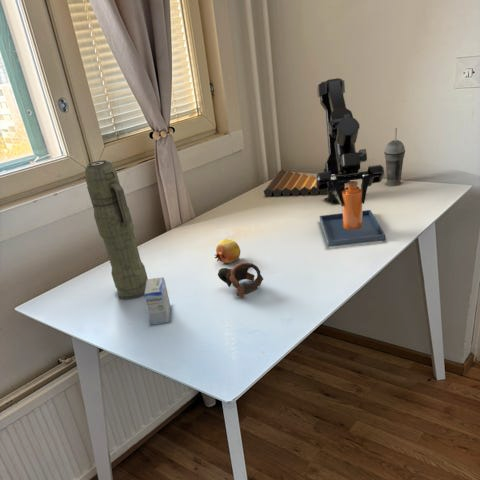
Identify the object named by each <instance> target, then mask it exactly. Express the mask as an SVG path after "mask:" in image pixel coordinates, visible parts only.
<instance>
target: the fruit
mask: <svg viewBox="0 0 480 480" xmlns="http://www.w3.org/2000/svg"><path fill="white" fill-rule="evenodd" d="M215 253H216V254H214V259H216V262H222V263H223V264H231V263H233V262H235V261H236V260H238V259H239V258H240V256H241V248H240V246H239V244H238V243H237V242H236V241H234V240H232V239H228V238H224V239H222V240H220V242H218V244H217V246H216V248H215Z"/></svg>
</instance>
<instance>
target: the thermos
mask: <svg viewBox="0 0 480 480" xmlns="http://www.w3.org/2000/svg"><path fill="white" fill-rule="evenodd" d="M84 169H85V172H84V173H85V174H84V177H85V178H84V179H85V183H86V188H87V191H88V195H89V199H90V201H91V205H92V208H93V217H94V220H95V221H94V222H95V224H96V227H97V230H98V234H99V236H100V237H101V239H102V241H103V244H104V247H105V250H106V253H107V257H108V259H109V264H110V266H111V277H112V281H113V283H114V287H115V288H116V290H117V294H118V296H119V297H120V298H121V299H124V300H126V299H128V300H130V299H131V300H132V299H134V298H135V299H136V298H139V297H141V296H144V292H145V287H146V281H147V280H148V279H149V278H148V274H147V270H146V267H145V265H144V263H143V262H142V259H141V256H140V252H139V248H138V245H137V240H136V237H135V233H134V228H135V227H134V222H133V218H132V215H131V211H130V208H129V207H128V203H127V198H126V195H125V191H124V188H123V187H122V185H121V183H120V180H119V176H118V173H117V170H116V169H115V167H114V166H113V164H112V162H111V161H108V160H106V159H105V160H103V159H102V160H96V161H92V162H90V163H87V165H86V166H85V168H84Z"/></svg>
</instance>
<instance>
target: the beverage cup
mask: <svg viewBox="0 0 480 480" xmlns="http://www.w3.org/2000/svg"><path fill="white" fill-rule="evenodd" d="M394 132H395V133H394V139H393V140H391V141H389V142H388V143H386V146H385V148H384V159H385V170H386V183H387V185H388V186H391V187H392V186H399V185H401V179H402V174H403V173H402V172H403V164H404V158H405V154H406V148H405V145H404V143H403V142H402V141H401V140H399V139H397V134H398V128H397V127H395V128H394Z"/></svg>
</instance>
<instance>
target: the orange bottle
mask: <svg viewBox="0 0 480 480" xmlns="http://www.w3.org/2000/svg"><path fill="white" fill-rule="evenodd" d="M358 183H359V182H358V181H357V180H350V181H349V182H347V183H346V186H347V187H345V190H344V191H342V198H343V206H341V207H342V213H343V228H345V229H348V230H354V229H359V228H361V227H362V211H363V203H362V190H361V188H360V187H359V186H358Z"/></svg>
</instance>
